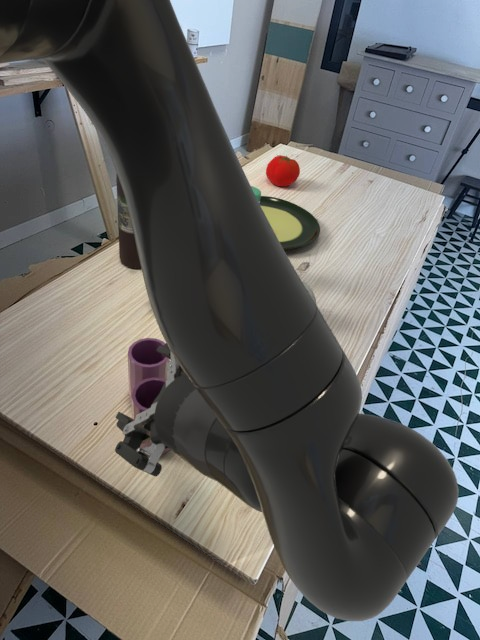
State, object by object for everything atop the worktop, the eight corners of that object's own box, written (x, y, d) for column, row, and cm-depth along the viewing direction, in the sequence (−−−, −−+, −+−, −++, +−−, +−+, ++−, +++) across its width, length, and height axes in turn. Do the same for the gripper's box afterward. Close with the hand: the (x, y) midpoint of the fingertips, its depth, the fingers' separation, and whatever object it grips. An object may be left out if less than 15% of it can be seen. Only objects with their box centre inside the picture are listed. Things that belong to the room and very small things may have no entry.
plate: (195, 236, 113) (195, 227, 112) (233, 193, 134) (234, 185, 133) (305, 269, 109) (308, 260, 107) (327, 219, 130) (329, 211, 128)
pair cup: (134, 415, 71) (133, 370, 65) (125, 387, 75) (123, 342, 69) (172, 406, 73) (175, 362, 67) (161, 379, 77) (163, 334, 71)
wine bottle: (113, 258, 102) (105, 115, 83) (139, 248, 106) (138, 111, 87) (132, 273, 99) (129, 128, 79) (159, 262, 103) (162, 123, 84)
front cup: (138, 461, 65) (138, 417, 59) (128, 428, 69) (127, 382, 63) (179, 449, 68) (183, 405, 61) (167, 417, 72) (169, 373, 65)
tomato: (261, 176, 146) (265, 150, 141) (292, 178, 149) (297, 152, 143) (267, 189, 140) (272, 162, 134) (300, 191, 142) (306, 164, 136)
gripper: (225, 331, 39) (151, 314, 53) (135, 488, 36) (80, 427, 49) (282, 373, 43) (199, 346, 56) (205, 518, 40) (136, 453, 53)
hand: (144, 384), depth 53 cm, fingers open, 8 cm apart
